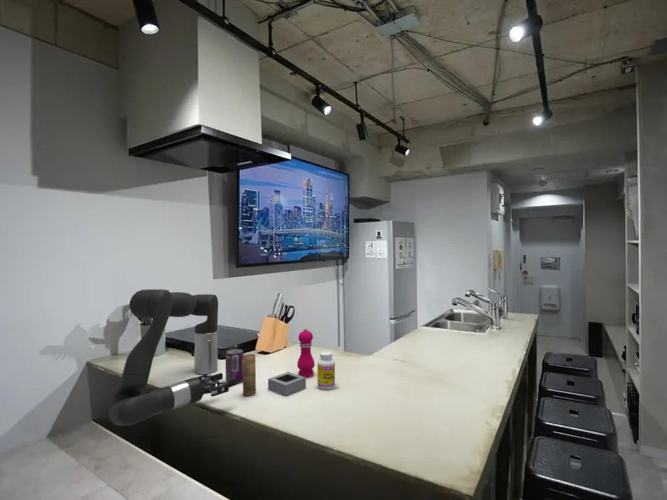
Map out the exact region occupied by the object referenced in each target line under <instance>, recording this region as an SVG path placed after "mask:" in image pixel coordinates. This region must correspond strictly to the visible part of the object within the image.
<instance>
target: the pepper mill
mask: <svg viewBox="0 0 667 500" xmlns="http://www.w3.org/2000/svg"><path fill="white" fill-rule="evenodd" d="M313 338H314V335H313V333H312V332H311V331H309V330H308V327H304V328H303V330H302V331H301V332H299V334H298V341H299V347H300V354H299V355H300V356H299V357H298V360H297V362H296V363H297V369H298V375H299V376H302V377H306V379H308V378H311V377H313V376H314V374H315V373H314V367H315V360H314V357H313V355H312V350H311V349H312V348H311V347H312V346H313V345H312V344H313V343H312V340H314V339H313Z"/></svg>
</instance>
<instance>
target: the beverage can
mask: <svg viewBox="0 0 667 500" xmlns="http://www.w3.org/2000/svg"><path fill="white" fill-rule="evenodd" d="M243 355H245V354H244V352H243V349H239V348H234V349H230V350H227V351H226V355H225V381H228V380H231V379H234V378H235V379H237V384H239V383H241V382H243Z"/></svg>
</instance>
